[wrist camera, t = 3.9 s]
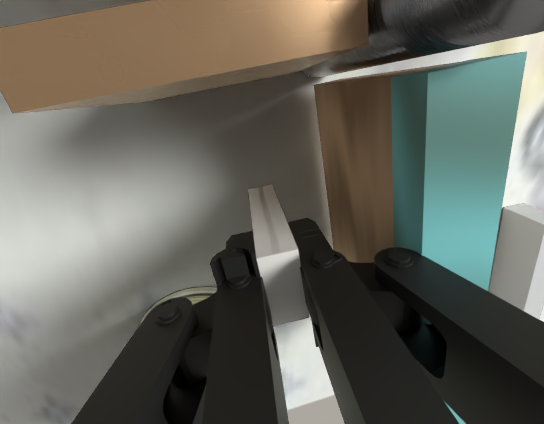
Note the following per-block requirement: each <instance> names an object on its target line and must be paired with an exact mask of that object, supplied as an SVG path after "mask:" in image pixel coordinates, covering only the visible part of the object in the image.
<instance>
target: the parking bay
mask: <svg viewBox="0 0 544 424" xmlns="http://www.w3.org/2000/svg"><path fill="white" fill-rule="evenodd" d="M488 292H490V293H492V294H494V295H496V296H497V297H499V298H501V299H503V300H505V301H506V302H508V303H510V304H512V305H514V306H515V307H517V308H519V309H521V310H523V311H524V312H526V313H528V314H530V315H532V316H534V317H535V318H537V319H540V316H541V312H542V309H543V306H544V211H543V210H540V209H537V208H535V207H532V206H530V205H527V204H524V203H522V204H517V205H513V206H508V207H504V209H503V214H502V220H501V225H500V231H499V236H498V241H497V247H496V252H495V258H494V263H493V269H492V274H491V280H490V285H489V291H488Z"/></svg>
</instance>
